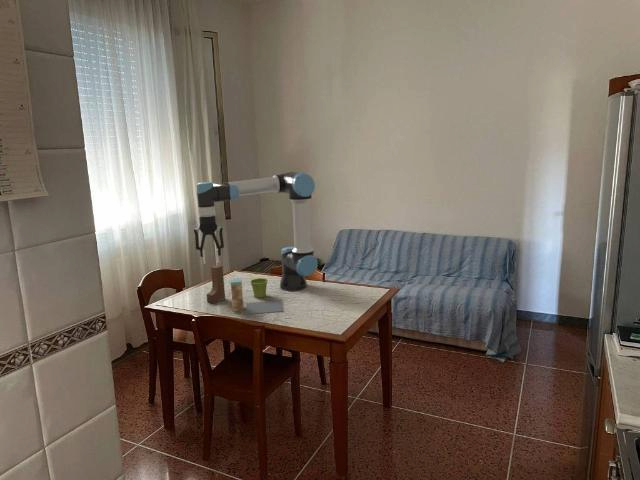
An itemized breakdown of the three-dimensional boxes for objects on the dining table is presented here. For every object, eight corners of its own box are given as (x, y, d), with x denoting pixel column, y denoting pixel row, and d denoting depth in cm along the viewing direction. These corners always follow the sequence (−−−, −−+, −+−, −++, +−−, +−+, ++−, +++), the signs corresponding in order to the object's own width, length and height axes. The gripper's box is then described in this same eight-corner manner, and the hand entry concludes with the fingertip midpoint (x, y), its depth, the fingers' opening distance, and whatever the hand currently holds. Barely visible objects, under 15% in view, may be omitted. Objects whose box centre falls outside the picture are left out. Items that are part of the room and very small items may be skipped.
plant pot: (264, 299, 245) (263, 283, 243) (248, 298, 247) (247, 282, 246) (271, 294, 253) (270, 278, 252) (255, 292, 256) (254, 277, 254)
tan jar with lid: (243, 307, 234) (241, 278, 231) (243, 311, 229) (241, 281, 226) (233, 308, 234) (231, 279, 231) (233, 311, 229) (230, 282, 226)
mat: (281, 300, 242) (281, 300, 242) (283, 311, 227) (283, 310, 227) (246, 303, 240) (246, 302, 240) (246, 314, 224) (246, 314, 224)
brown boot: (212, 303, 242) (209, 270, 238) (206, 302, 244) (203, 269, 240) (225, 298, 249) (222, 265, 245) (219, 297, 251) (216, 264, 248)
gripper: (227, 213, 225) (231, 259, 230) (188, 215, 223) (192, 262, 227) (226, 215, 218) (230, 263, 223) (185, 217, 215) (190, 266, 220)
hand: (211, 262), depth 225 cm, fingers open, 6 cm apart
